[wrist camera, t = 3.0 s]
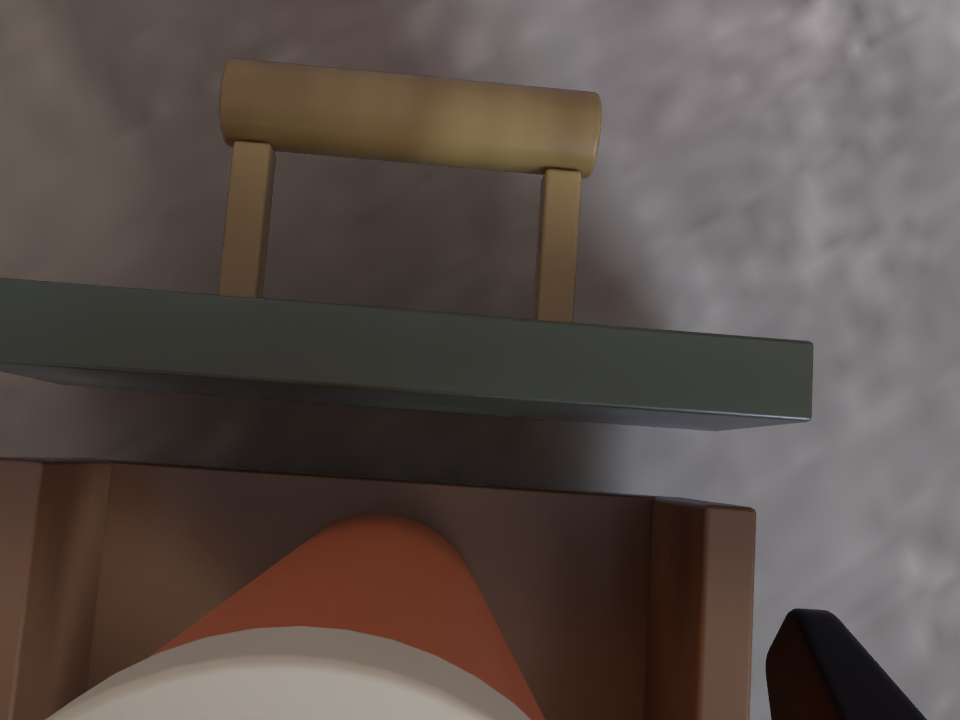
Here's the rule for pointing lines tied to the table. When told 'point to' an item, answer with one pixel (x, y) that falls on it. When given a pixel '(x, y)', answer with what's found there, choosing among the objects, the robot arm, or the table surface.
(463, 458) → the table surface
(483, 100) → the drawer
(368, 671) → the tube
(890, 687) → the robot arm
